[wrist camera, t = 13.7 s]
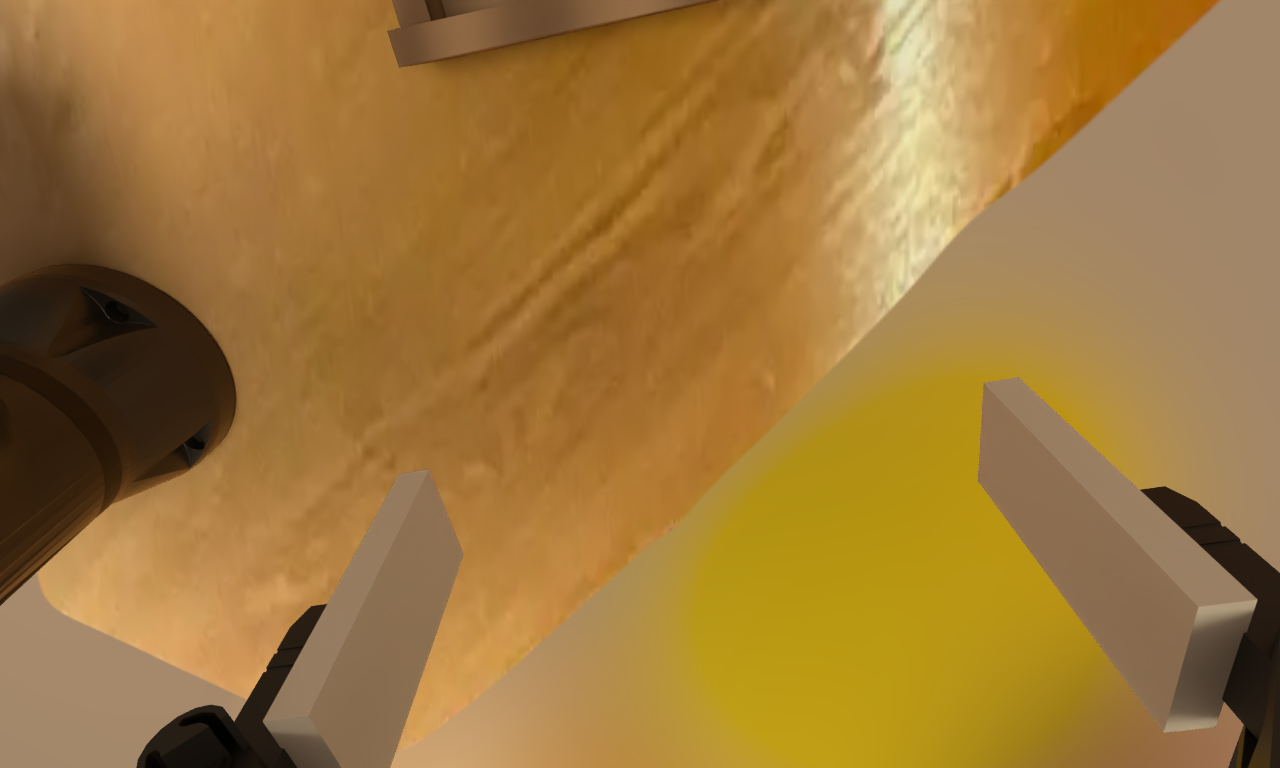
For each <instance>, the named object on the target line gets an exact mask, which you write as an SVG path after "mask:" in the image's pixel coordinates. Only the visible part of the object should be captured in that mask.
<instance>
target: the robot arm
mask: <svg viewBox="0 0 1280 768" xmlns="http://www.w3.org/2000/svg"><path fill="white" fill-rule="evenodd" d="M234 409H235V392H234V386H233V381H232V377H231V374H230V371H229V368H228V366H227V364H226V361H225V359H224V357H223V355H222V353H221V352H220V350H219V348H218V347H217V345H216V344H215V342H214V341H213V339H212V338H211V337H210V335H209V334H208V333H207V331H206V330H205V329H204V328H203V327H202V325H201V324H200V323H199V322H198V321H197V320H196V319H195V318H194V317H193V316H192V315H191V314H190V313H189V312H187V311H186V310H185V309H184V308H183V307H182V306H180V305H179V304H178V303H177V302H175V301H174V300H173V299H171V298H170V297H168V296H167V295H165V294H164V293H162V292H161V291H159V290H157V289H156V288H154V287H152V286H150V285H148V284H146V283H145V282H142V281H140V280H138V279H136V278H133V277H131V276H128V275H126V274H123V273H120V272H117V271H114V270H110V269H106V268H101V267H96V266H89V265H58V266H52V267H48V268H44V269H41V270H38V271H35V272H32V273H30V274H27V275H25V276H22V277H20V278H17V279H15V280H12V281H10V282H8V283H6V284H4V285H2V286H0V606H1V605H2V604H3V603H4V602H5V601H6V600H7V599H8V598H9V597H10V596H11V595H12V594H14V592H16V591H17V590H18V589H19V588H20V587H21V586H22V585H23V584H24V583H26V581H28V580H29V579H30V578H31V577H32V576H33V575H34V574H35V573H36V572H37V571H39V570H40V569H41V568H42V567H43V566H44V565H45V564H46V563H47V562H48V561H49V560H51V559H52V558H53V557H54V556H55V555H56V554H57V553H58V552H59V551H60V550H61V549H62V548H64V547H65V546H66V545H67V544H68V543H69V542H70V541H71V540H72V539H73V538H74V537H76V536H77V535H78V534H79V533H80V532H81V531H82V530H83V529H84V528H85V527H86V526H88V525H89V524H90V523H91V522H92V521H93V520H94V519H95V518H96V517H97V516H98V515H100V514H101V513H102V512H103V511H104V510H105V509H106V508H107V507H109V506H110V505H111V504H113V503H116V502H118V501H120V500H123V499H125V498H128V497H130V496H132V495H135V494H137V493H139V492H142V491H144V490H147V489H149V488H151V487H154V486H156V485H159V484H161V483H163V482H166V481H168V480H170V479H173V478H175V477H177V476H180V475H182V474H183V473H185V472H187V471H188V470H190V469H192V468H193V467H194V466H196V465H197V464H198V463H199V462H201V461H202V460H203V459H204V458H205V457H206V456H207V455H208V454H209V453H210V452H211V451H212V450H213V449H214V448H215V447H216V446H217V445H218V444H219V443H220V442H221V441H222V439H223V438H224V437H225V435H226V434H227V432H228V430H229V428H230V426H231V423H232V420H233V415H234ZM978 472H979V473H978V482H979V483H980V484H981V486H982V487H983V488H984V490H985V491H986V492H987V494H988V495H989V496H990V498H991V499H992V501H993V502H994V503H995V505H996V506H997V507H998V509H999V510H1000V511H1001V513H1002V514H1003V515H1004V517H1005V518H1006V519H1007V521H1008V522H1009V524H1010V525H1011V526H1012V528H1013V529H1014V530H1015V532H1016V533H1017V534H1018V536H1019V537H1020V538H1021V540H1022V541H1023V543H1024V544H1025V545H1026V547H1027V548H1028V549H1029V550H1030V552H1031V553H1032V555H1033V556H1034V557H1035V559H1036V560H1037V561H1038V563H1039V564H1040V565H1041V567H1042V568H1043V570H1044V571H1045V572H1046V574H1047V575H1048V576H1049V578H1050V579H1051V580H1052V582H1053V583H1054V585H1055V586H1056V587H1057V588H1058V590H1059V591H1060V593H1061V594H1062V595H1063V597H1064V598H1065V600H1066V601H1067V602H1068V604H1069V605H1070V606H1071V608H1072V609H1073V610H1074V612H1075V613H1076V614H1077V616H1078V617H1079V618H1080V620H1081V621H1082V623H1083V624H1084V625H1085V626H1086V628H1087V629H1088V631H1089V632H1090V633H1091V635H1092V636H1093V637H1094V639H1095V640H1096V642H1097V643H1098V644H1099V645H1100V647H1101V648H1102V650H1103V651H1104V652H1105V654H1106V655H1107V656H1108V658H1109V659H1110V660H1111V662H1112V663H1113V664H1114V666H1115V667H1116V669H1117V670H1118V671H1119V673H1120V674H1121V675H1122V676H1123V678H1124V679H1125V681H1126V682H1127V683H1128V685H1129V686H1130V688H1131V689H1132V690H1133V692H1134V693H1135V694H1136V696H1137V697H1138V698H1139V700H1140V701H1141V702H1142V704H1143V705H1144V707H1145V708H1146V709H1147V711H1148V712H1149V713H1150V715H1151V716H1152V717H1153V718H1154V720H1155V721H1156V723H1157V724H1158V725H1159V727H1160V728H1161V730H1162V731H1163V732H1173V731H1183V730H1191V729H1192V730H1193V729H1202V728H1211V727H1215V726H1216V724H1217V721H1218V718H1219V715H1220V712H1221V709H1222V706H1223V703H1224V702H1225V703H1226V704H1227V705H1228V706H1229V708H1231V710H1232V711H1233V712H1234V713H1235V715H1236V716H1237V717H1238V718H1239V719H1240V720H1241V722H1242V723H1243V724H1244V726H1243V729H1242V732H1241V734H1240V737H1239V740H1238V743H1237V745H1236V748H1235V751H1234V754H1233V757H1232V759H1231V762H1230V765H1229V768H1280V573H1279V572H1278V571H1277V570H1276V569H1275V568H1273V567H1272V566H1271V565H1270V564H1269V563H1268V562H1266V561H1265V560H1264V559H1263V558H1262V557H1261V556H1259V555H1258V554H1257V553H1256V552H1255V551H1253V550H1252V549H1251V548H1250V547H1249V546H1248V545H1246V544H1245V543H1244V544H1242V543H1241V542H1240V539H1239V538H1238V537H1237V536H1236V535H1235V534H1234V533H1232V532H1231V531H1230V530H1229V529H1228V528H1227V527H1225V526H1224V527H1222V526H1221V522H1220V521H1218V520H1217V519H1216V518H1215V517H1214V516H1213V515H1211V514H1210V513H1209V512H1208V511H1207V510H1206V509H1204V508H1203V507H1202V506H1201V505H1200V504H1199V503H1197V502H1196V501H1194V500H1192V499H1189V498H1187V497H1185V496H1183V495H1181V494H1179V493H1177V492H1175V491H1173V490H1171V489H1169V488H1167V487H1165V486H1164V487H1157V488H1150V489H1142V490H1139V489H1138V488H1137V487H1136V486H1135V485H1134V484H1133V483H1132V482H1131V481H1130V480H1129V479H1127V478H1126V477H1125V476H1124V475H1123V474H1122V473H1121V472H1120V471H1119V470H1118V469H1117V468H1116V467H1115V466H1113V465H1112V464H1111V463H1110V462H1109V461H1108V460H1107V459H1106V458H1105V457H1103V455H1102V454H1101V453H1100V452H1098V451H1097V450H1096V449H1095V448H1094V447H1093V446H1092V445H1091V444H1090V443H1089V442H1088V441H1087V440H1086V439H1084V438H1083V437H1082V436H1081V435H1080V434H1079V433H1078V432H1077V431H1076V430H1075V429H1074V428H1073V427H1071V426H1070V425H1069V424H1068V423H1067V422H1066V421H1065V420H1064V419H1063V418H1062V417H1061V416H1060V415H1058V413H1057V412H1055V411H1054V410H1053V409H1052V408H1051V407H1050V406H1049V405H1048V404H1047V403H1046V402H1045V401H1044V400H1043V399H1042V398H1040V397H1039V396H1038V395H1037V394H1036V393H1035V392H1034V391H1033V390H1032V389H1031V388H1030V387H1028V386H1027V385H1026V384H1025V383H1024V382H1023V381H1022V380H1021V379H1020V378H1019V377H1018V378H1012V379H1005V380H999V381H992V382H986V383H984V386H983V403H982V420H981V438H980V455H979V471H978ZM463 555H464V554H463V552H462V549H461V547H460V544H459V542H458V539H457V537H456V534H455V532H454V529H453V527H452V524H451V522H450V520H449V517H448V515H447V512H446V510H445V507H444V505H443V502H442V500H441V497H440V495H439V492H438V490H437V487H436V485H435V483H434V480H433V478H432V475H431V473H430V470H429V469H427V470H421V471H414V472H408V473H401V474H399V475H398V477H397V479H396V481H395V482H394V484H393V486H392V488H391V490H390V491H389V493H388V495H387V497H386V499H385V501H384V502H383V504H382V506H381V508H380V510H379V511H378V513H377V515H376V517H375V519H374V520H373V522H372V524H371V526H370V528H369V530H368V531H367V533H366V535H365V537H364V539H363V540H362V542H361V544H360V546H359V548H358V549H357V551H356V553H355V555H354V557H353V559H352V560H351V562H350V564H349V566H348V568H347V569H346V571H345V573H344V575H343V577H342V578H341V580H340V582H339V584H338V586H337V588H336V589H335V591H334V593H333V595H332V597H331V598H330V600H329V602H328V604H324V605H317V606H311V607H310V608H309V609H308V610H307V611H306V612H305V613H304V614H303V615H302V616H301V617H300V618H299V619H298V620H297V621H296V622H295V623H294V624H293V625H292V626H291V627H290V629H289V630H288V632H287V634H286V635H285V637H284V639H283V641H282V642H281V644H280V646H279V647H278V649H277V650H278V652H277V654H274V656H273V657H272V659H271V661H270V662H269V664H268V666H267V671H266V672H264V673H263V674H262V676H261V678H260V679H259V681H258V683H257V684H256V686H255V688H254V689H253V691H252V693H251V695H250V696H249V698H248V700H247V701H246V703H245V705H244V706H243V708H242V710H241V712H240V713H239V715H238V717H237V718H236V720H235V722H234V721H233V720H232V719H231V717H230V716H229V714H228V713H227V712H226V711H225V709H224V708H223V707H221V706H215V705H207V706H203V707H198V708H195V709H193V710H190V711H189V712H186V713H184V714H182V715H180V716H178V717H177V718H175V719H174V720H173V721H171V722H170V723H169V724H167V725H166V726H165V727H164V728H162V729H161V730H160V731H159V732H158V733H157V734H156V735H155V736H154V737H153V738H152V739H151V740H150V742H149V743H148V744H147V745H146V747H145V749H144V750H143V752H142V754H141V755H140V757H139V759H138V762H137V768H390V766H391V764H392V761H393V758H394V755H395V752H396V749H397V746H398V743H399V740H400V738H401V735H402V732H403V729H404V726H405V723H406V720H407V717H408V714H409V711H410V708H411V706H412V703H413V700H414V697H415V694H416V691H417V688H418V685H419V682H420V679H421V677H422V674H423V671H424V668H425V665H426V662H427V659H428V656H429V653H430V650H431V648H432V645H433V642H434V639H435V636H436V633H437V630H438V627H439V624H440V621H441V618H442V616H443V613H444V610H445V607H446V604H447V601H448V598H449V595H450V592H451V589H452V587H453V584H454V581H455V578H456V575H457V572H458V569H459V566H460V563H461V560H462V558H463Z"/></svg>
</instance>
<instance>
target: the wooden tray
mask: <svg viewBox="0 0 1280 768" xmlns="http://www.w3.org/2000/svg"><path fill="white" fill-rule="evenodd" d="M713 1H718V0H392V2H393V5H394V8H395V11H396V14H397V18H398V21H399V24H400V27H401V28H399V29H394V30H390V31H387V32H388V35H389V38H390V41H391V44H392V47H393V50H394V53H395V56H396V59H397V62H398V66H399V67H405V66H412V65H418V64H425V63H431V62H437V61H442V60H446V59H451V58H455V57H460V56H465V55H469V54H474V53H478V52H483V51H488V50H492V49H497V48H501V47H506V46H511V45H515V44H520V43H525V42H529V41H534V40H538V39H543V38H548V37H552V36H557V35H561V34H566V33H571V32H575V31H580V30H584V29H589V28H594V27H598V26H603V25H607V24H612V23H617V22H621V21H626V20H630V19H635V18H640V17H644V16H649V15H653V14H658V13H663V12H667V11H672V10H676V9H681V8H686V7H690V6H695V5H699V4H704V3H709V2H713Z"/></svg>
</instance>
